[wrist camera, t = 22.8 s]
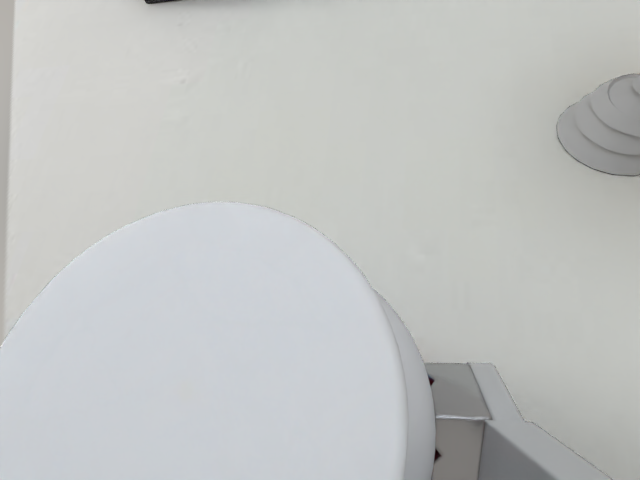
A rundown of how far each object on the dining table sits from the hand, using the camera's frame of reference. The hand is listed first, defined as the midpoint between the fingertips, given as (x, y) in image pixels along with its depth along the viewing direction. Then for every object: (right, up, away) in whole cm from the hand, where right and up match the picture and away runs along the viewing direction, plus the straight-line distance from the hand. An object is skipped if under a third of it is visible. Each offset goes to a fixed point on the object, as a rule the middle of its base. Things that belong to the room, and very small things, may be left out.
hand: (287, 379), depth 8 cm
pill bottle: (+1, -3, +5) cm, 6 cm away
